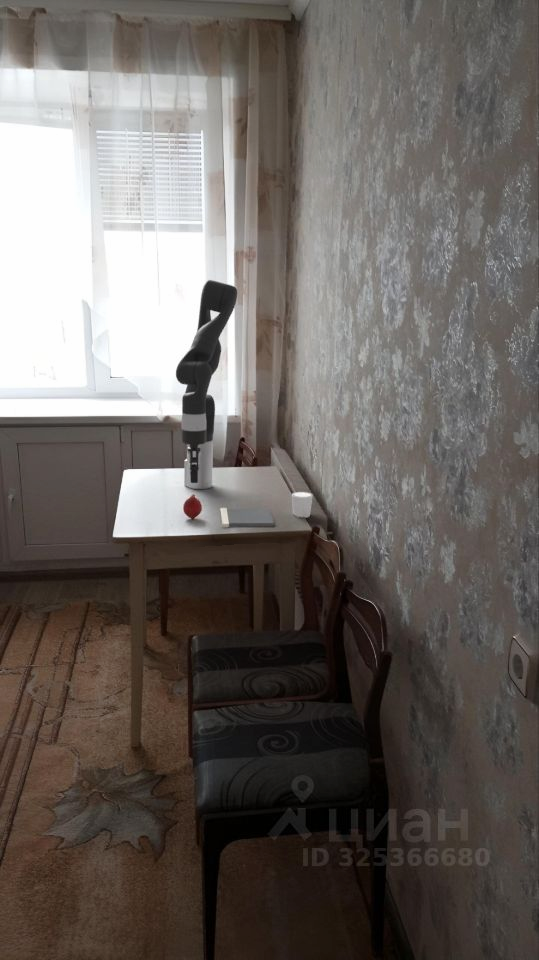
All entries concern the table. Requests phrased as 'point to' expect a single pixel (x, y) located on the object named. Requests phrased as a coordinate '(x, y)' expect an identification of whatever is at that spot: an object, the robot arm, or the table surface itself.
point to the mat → (246, 517)
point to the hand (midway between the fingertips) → (193, 479)
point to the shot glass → (301, 503)
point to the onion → (192, 507)
